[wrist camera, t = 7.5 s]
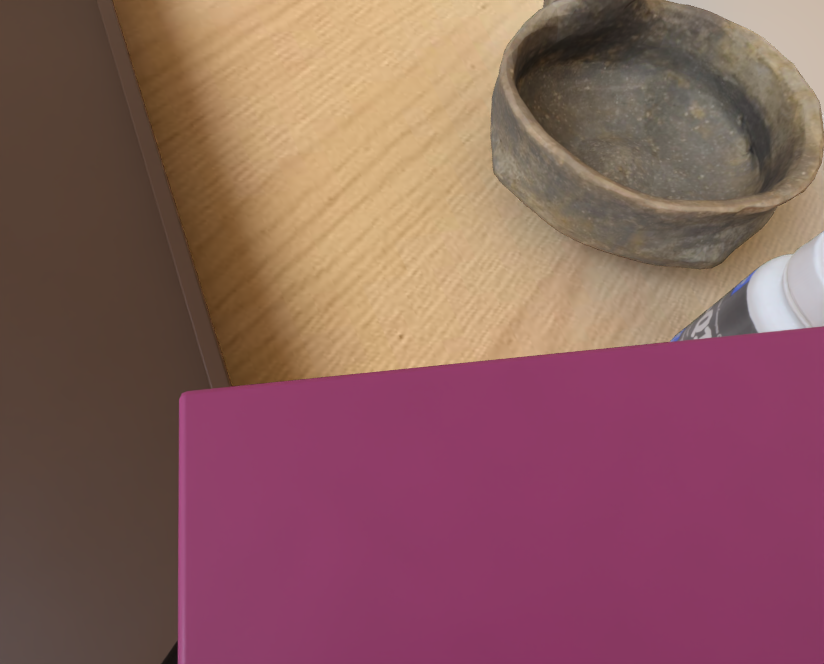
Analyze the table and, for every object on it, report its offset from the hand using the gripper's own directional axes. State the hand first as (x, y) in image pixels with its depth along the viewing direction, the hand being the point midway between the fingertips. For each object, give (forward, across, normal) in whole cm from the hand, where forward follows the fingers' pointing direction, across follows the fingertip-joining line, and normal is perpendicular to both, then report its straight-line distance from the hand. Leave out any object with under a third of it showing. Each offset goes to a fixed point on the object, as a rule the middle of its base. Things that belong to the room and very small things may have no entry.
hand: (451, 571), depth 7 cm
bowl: (+22, -14, -4) cm, 27 cm away
